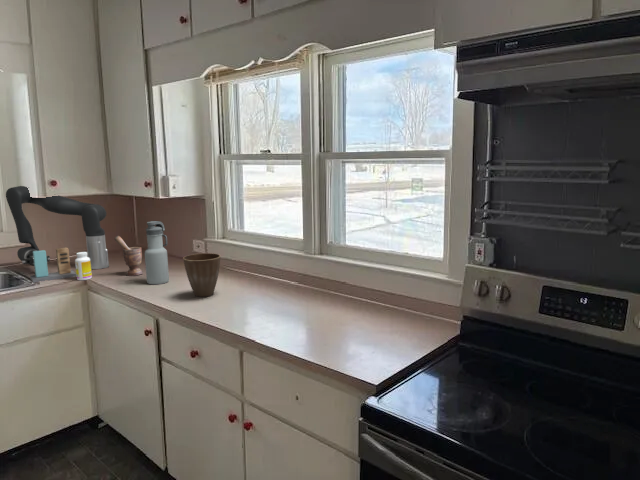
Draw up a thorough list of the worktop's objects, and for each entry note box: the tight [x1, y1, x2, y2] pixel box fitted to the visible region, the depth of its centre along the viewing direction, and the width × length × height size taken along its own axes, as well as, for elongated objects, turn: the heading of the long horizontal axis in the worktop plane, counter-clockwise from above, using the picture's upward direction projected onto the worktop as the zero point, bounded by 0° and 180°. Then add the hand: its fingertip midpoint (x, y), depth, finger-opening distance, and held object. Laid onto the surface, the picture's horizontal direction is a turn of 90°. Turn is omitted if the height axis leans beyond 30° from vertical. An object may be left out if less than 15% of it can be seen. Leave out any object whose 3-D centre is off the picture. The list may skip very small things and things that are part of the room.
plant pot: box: [182, 252, 221, 298], centre depth 210 cm, size 15×15×16 cm
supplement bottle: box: [74, 251, 93, 281], centre depth 244 cm, size 7×7×13 cm
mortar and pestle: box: [114, 235, 144, 277], centre depth 249 cm, size 12×9×20 cm
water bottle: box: [144, 220, 170, 286], centre depth 233 cm, size 10×10×28 cm
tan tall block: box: [55, 247, 72, 274], centre depth 251 cm, size 5×4×12 cm
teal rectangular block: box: [33, 249, 49, 277], centre depth 245 cm, size 5×4×12 cm
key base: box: [29, 269, 77, 283], centre depth 249 cm, size 19×10×2 cm, turn 126°
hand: (38, 262), depth 249 cm, fingers closed
